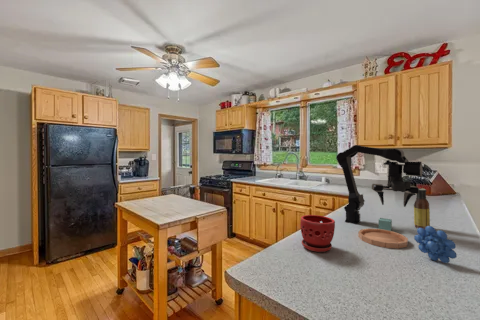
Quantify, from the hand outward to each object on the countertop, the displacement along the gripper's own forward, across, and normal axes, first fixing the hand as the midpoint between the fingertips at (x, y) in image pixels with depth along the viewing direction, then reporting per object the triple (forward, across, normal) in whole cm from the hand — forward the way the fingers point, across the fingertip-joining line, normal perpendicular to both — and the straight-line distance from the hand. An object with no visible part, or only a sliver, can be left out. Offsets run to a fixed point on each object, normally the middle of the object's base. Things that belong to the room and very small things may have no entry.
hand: (393, 205), depth 112 cm
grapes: (+12, +4, -34) cm, 36 cm away
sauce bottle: (+12, +15, +8) cm, 21 cm away
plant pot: (+13, -35, -34) cm, 51 cm away
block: (+12, -3, 0) cm, 13 cm away
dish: (+12, -8, -17) cm, 22 cm away
